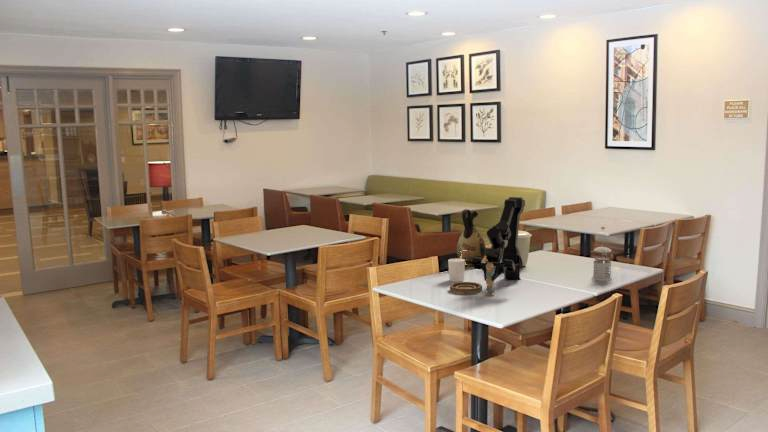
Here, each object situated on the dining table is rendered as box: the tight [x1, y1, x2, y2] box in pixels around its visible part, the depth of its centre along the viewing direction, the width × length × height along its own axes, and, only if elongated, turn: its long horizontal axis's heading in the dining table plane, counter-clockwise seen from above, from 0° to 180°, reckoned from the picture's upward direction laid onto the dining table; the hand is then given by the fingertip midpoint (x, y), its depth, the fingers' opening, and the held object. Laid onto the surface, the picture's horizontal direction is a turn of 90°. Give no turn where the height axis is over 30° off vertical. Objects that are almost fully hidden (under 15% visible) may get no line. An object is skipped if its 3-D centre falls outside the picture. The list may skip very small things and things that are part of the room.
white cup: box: [447, 257, 466, 283], centre depth 320 cm, size 8×8×10 cm
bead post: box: [484, 262, 495, 297], centre depth 291 cm, size 4×4×14 cm
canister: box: [501, 229, 533, 267], centre depth 350 cm, size 18×18×21 cm
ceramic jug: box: [456, 208, 487, 266], centre depth 355 cm, size 17×15×30 cm
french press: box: [591, 226, 614, 282], centre depth 317 cm, size 10×12×25 cm
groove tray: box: [449, 281, 483, 295], centre depth 300 cm, size 14×14×2 cm
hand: (488, 280), depth 290 cm, fingers closed on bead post, 3 cm apart
